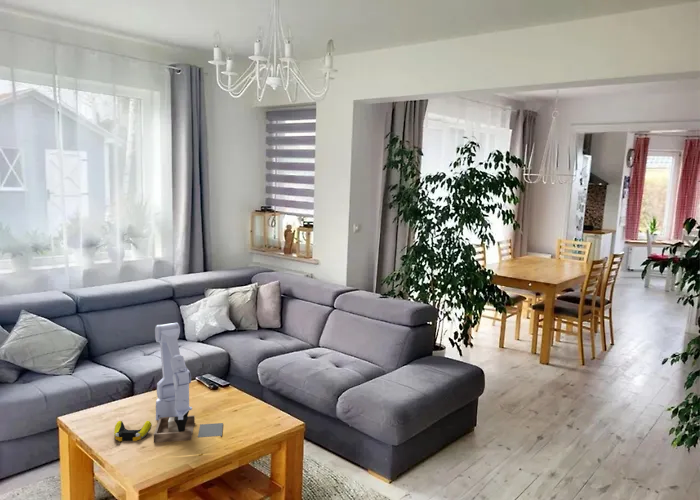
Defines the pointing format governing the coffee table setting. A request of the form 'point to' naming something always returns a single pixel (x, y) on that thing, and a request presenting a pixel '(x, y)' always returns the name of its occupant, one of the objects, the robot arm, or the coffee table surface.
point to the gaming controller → (130, 432)
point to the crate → (165, 436)
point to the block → (172, 425)
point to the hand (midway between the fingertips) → (182, 428)
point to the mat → (210, 430)
